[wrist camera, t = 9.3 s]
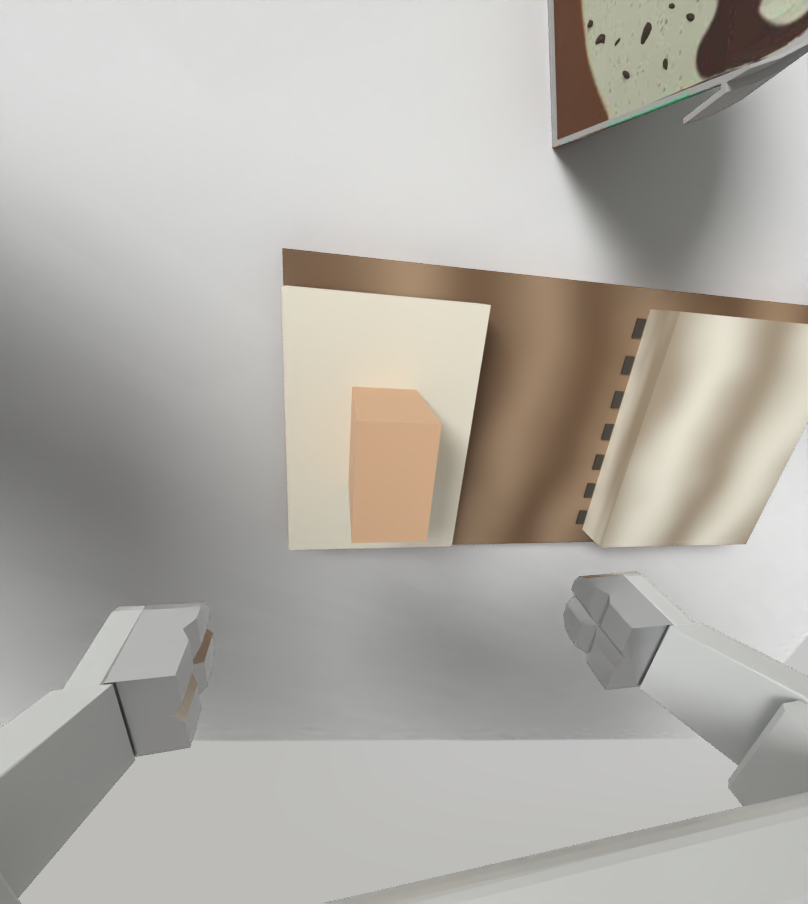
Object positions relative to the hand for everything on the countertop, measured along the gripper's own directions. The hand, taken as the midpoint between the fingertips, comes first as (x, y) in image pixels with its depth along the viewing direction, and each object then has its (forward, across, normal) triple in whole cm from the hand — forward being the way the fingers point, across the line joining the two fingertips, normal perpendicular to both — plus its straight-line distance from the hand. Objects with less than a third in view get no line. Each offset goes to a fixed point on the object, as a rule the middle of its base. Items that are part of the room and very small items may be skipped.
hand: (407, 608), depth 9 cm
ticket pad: (+15, -12, 0) cm, 19 cm away
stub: (+13, -1, 0) cm, 13 cm away
